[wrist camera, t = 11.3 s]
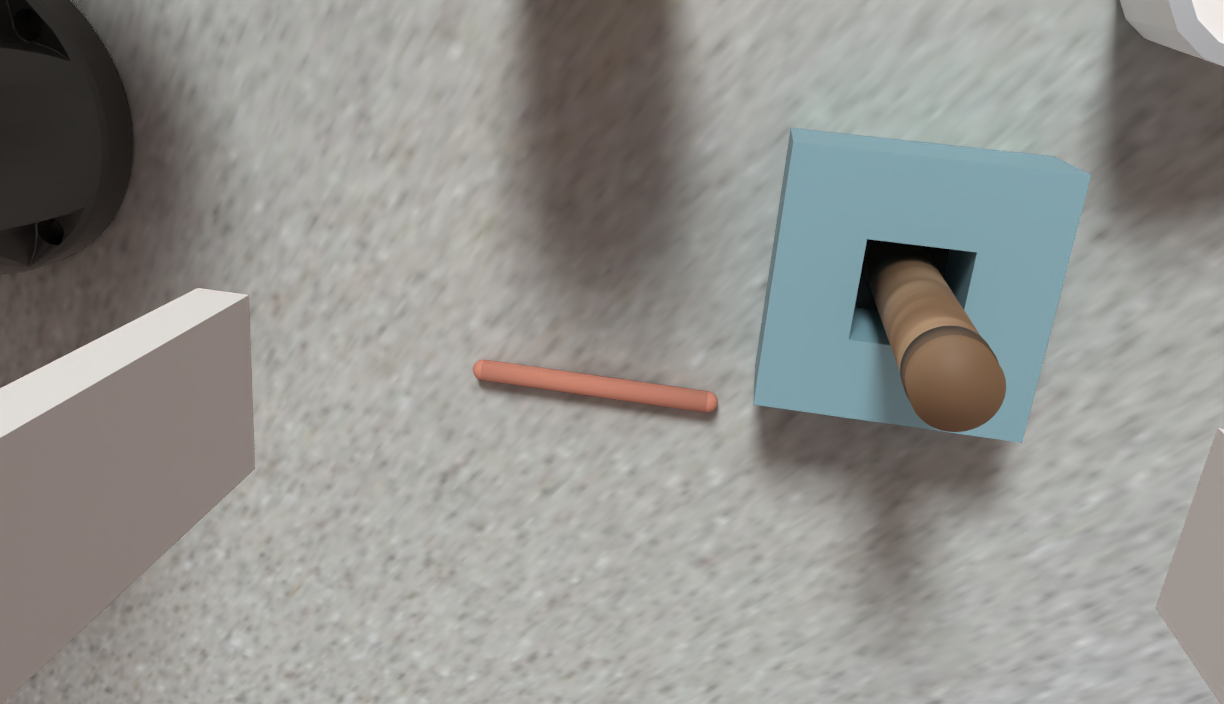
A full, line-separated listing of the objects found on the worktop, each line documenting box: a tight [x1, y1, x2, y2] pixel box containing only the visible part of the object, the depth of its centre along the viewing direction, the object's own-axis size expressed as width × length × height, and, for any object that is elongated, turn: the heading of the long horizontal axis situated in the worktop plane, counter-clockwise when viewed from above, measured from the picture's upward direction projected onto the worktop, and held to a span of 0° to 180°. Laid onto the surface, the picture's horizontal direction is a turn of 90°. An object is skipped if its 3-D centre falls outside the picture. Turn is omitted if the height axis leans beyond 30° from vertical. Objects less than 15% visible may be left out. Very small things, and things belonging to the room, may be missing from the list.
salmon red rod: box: [473, 360, 718, 412], centre depth 47 cm, size 12×1×1 cm, turn 85°
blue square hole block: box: [753, 128, 1091, 443], centre depth 41 cm, size 11×11×5 cm
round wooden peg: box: [865, 241, 1006, 432], centre depth 36 cm, size 3×3×15 cm
